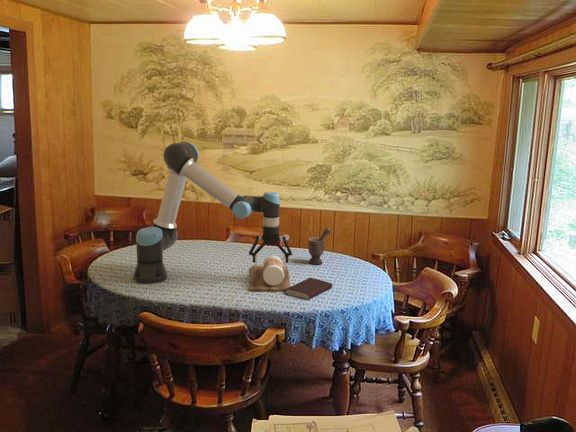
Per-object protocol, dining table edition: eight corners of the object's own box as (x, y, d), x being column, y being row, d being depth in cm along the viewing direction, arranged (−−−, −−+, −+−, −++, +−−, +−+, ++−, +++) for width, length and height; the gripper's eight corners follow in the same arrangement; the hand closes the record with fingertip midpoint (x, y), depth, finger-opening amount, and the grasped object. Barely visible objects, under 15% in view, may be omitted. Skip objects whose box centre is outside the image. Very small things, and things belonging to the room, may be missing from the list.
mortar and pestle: (330, 262, 285) (331, 225, 281) (328, 266, 276) (330, 229, 272) (308, 260, 286) (310, 224, 283) (306, 265, 278) (307, 227, 274)
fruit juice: (260, 268, 237) (260, 252, 265) (265, 288, 239) (265, 270, 266) (281, 264, 237) (279, 248, 265) (286, 283, 239) (283, 266, 266)
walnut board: (250, 291, 235) (250, 288, 235) (251, 267, 271) (251, 265, 270) (290, 291, 236) (291, 289, 236) (287, 268, 272) (287, 265, 271)
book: (332, 289, 242) (332, 282, 242) (309, 301, 227) (309, 293, 226) (309, 284, 249) (309, 277, 249) (285, 294, 234) (285, 287, 233)
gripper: (243, 226, 244) (243, 271, 248) (298, 227, 245) (297, 272, 250) (244, 223, 252) (244, 266, 256) (297, 224, 253) (296, 267, 257)
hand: (270, 269), depth 253 cm, fingers open, 13 cm apart
